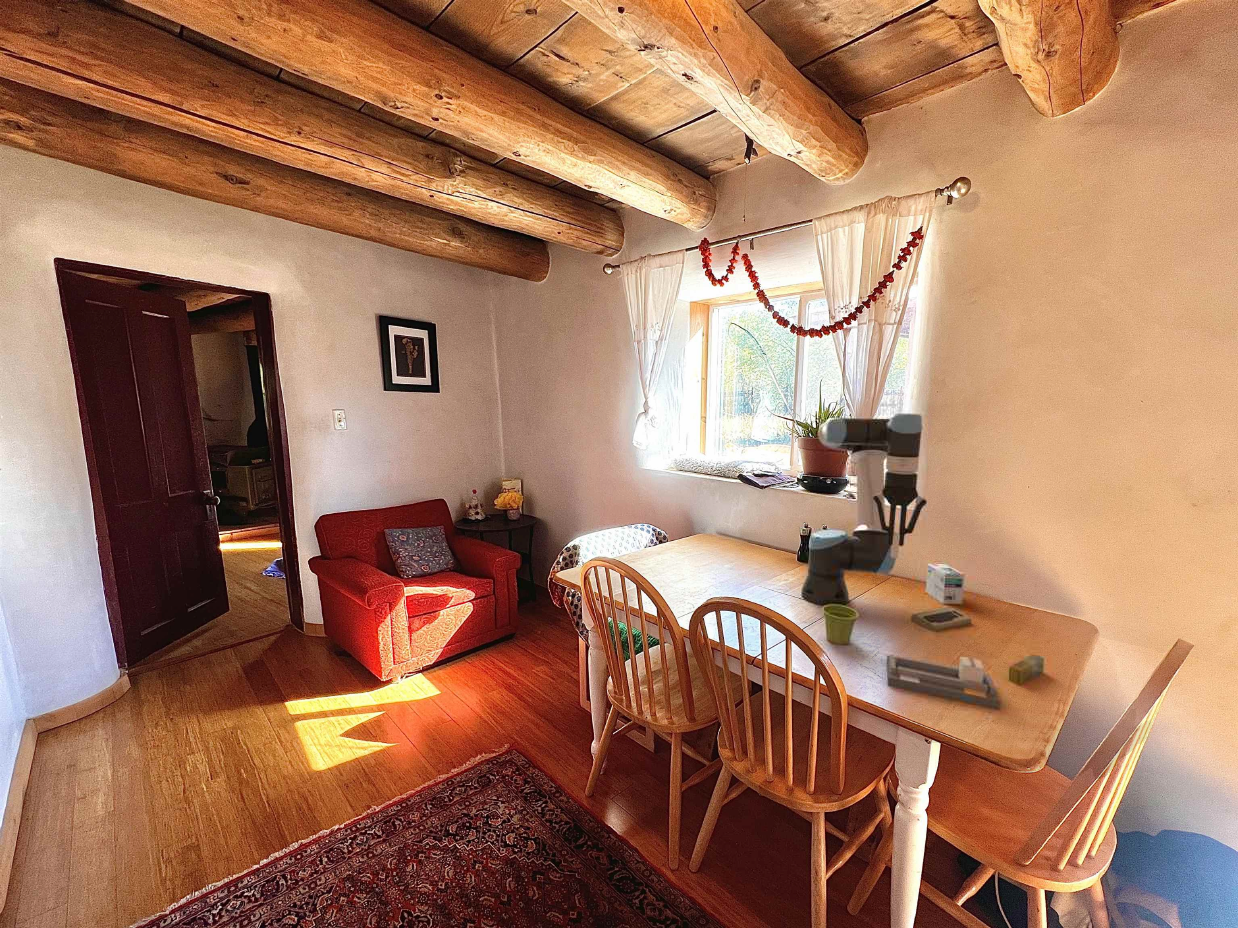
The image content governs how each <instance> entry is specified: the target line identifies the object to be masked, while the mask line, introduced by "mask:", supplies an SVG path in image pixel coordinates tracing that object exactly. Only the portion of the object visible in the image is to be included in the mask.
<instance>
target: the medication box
mask: <svg viewBox="0 0 1238 928" xmlns="http://www.w3.org/2000/svg"><path fill="white" fill-rule="evenodd" d="M1044 658H1045V657H1044ZM1044 658H1043V657H1041V656H1038V655H1036V654H1031V655H1029V656H1026V657H1025V658H1023V659H1022V660H1018V661H1017V662H1015V663H1014V664H1011V665H1010V666H1009V669H1008V681H1009V682H1012V683H1014V684H1016V685H1019V686H1023V684H1026V683H1027V682H1029V681H1031V680H1033V679H1035V678H1037V677H1038V676H1040V675H1042V674H1043V673H1044V666H1045V664H1044V663H1045V662H1044V660H1045V659H1044Z"/></svg>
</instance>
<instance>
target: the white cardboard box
mask: <svg viewBox="0 0 1238 928" xmlns="http://www.w3.org/2000/svg"><path fill="white" fill-rule="evenodd" d="M958 668H959V674H958V676H959V679H960V680H965V681H970V682H975V683H980V684H982V681H983V674H984V672H985V671H984V669H985V668H984V666H983V663H982V660H980V659H976V658H973V657H971V656H967V657H965V656H959V667H958Z"/></svg>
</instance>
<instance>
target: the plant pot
mask: <svg viewBox="0 0 1238 928" xmlns="http://www.w3.org/2000/svg"><path fill="white" fill-rule="evenodd" d="M822 612H823V615H824V619H825V620H824V622H825V633H826V635H825V636H826V639H827V641H830V642H831V643H833V644H836V645H841V646H842V645H846V644H850V642H851V639H852V632H853V629H854V625H855V622H856V621H857V618H858V617H859V613H858V611H857V610H856V609H853V608H851V607H849V606H845V605H823V606H822Z"/></svg>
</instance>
